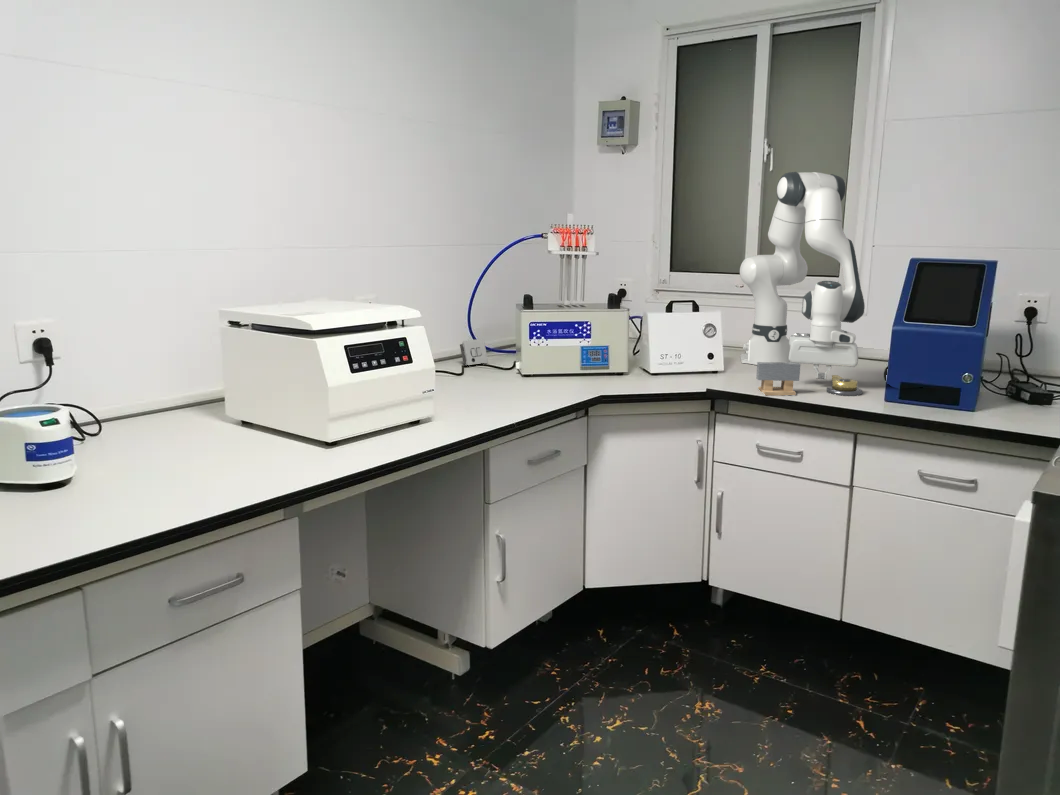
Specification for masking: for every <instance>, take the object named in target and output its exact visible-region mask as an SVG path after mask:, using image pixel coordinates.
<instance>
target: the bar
mask: <svg viewBox="0 0 1060 795" xmlns="http://www.w3.org/2000/svg"><path fill="white" fill-rule="evenodd" d="M800 376H801V363H786V362H757V365H756V380H757V381H762V380H773V382H774V381H778V382H779V381H793V382H800Z"/></svg>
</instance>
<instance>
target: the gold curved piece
mask: <svg viewBox="0 0 1060 795" xmlns="http://www.w3.org/2000/svg"><path fill="white" fill-rule="evenodd" d="M831 382H832V385H831V386H832V388H833V389H836V390H841V391H855V390H857V388H858V380H856V379H852V378H843V377H841V376H840V375H838V374H832V375H831Z"/></svg>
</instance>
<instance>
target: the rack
mask: <svg viewBox="0 0 1060 795" xmlns="http://www.w3.org/2000/svg"><path fill="white" fill-rule="evenodd" d="M760 381H761V383H760V384H761V385H760V386H758V387H757V390H758V389H759V390H760V391H761V392H763V393H764V394H765V395H764V394H763V393H762V394H763V395H764V396H784V395H795V396H796V394H797V393H796V391H795V390H794V381H781V382H780V386H774V381H773V380H760ZM759 390H758V391H759ZM760 391H759V392H760ZM761 392H760V393H761Z"/></svg>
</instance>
